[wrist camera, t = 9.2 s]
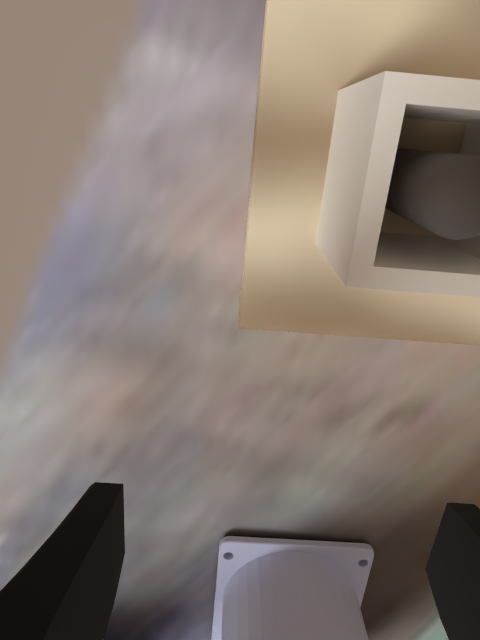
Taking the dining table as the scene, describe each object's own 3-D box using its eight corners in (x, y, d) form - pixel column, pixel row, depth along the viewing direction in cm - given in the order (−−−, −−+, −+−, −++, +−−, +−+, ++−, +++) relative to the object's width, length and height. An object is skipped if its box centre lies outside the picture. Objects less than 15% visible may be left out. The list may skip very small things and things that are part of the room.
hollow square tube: (450, 254, 17) (531, 301, 12) (315, 243, 16) (346, 286, 12) (489, 105, 15) (604, 92, 10) (338, 90, 15) (385, 70, 10)
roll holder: (473, 333, 19) (574, 418, 14) (238, 316, 19) (239, 397, 13) (576, -5, 15) (794, -92, 9) (268, -36, 14) (290, -148, 9)
